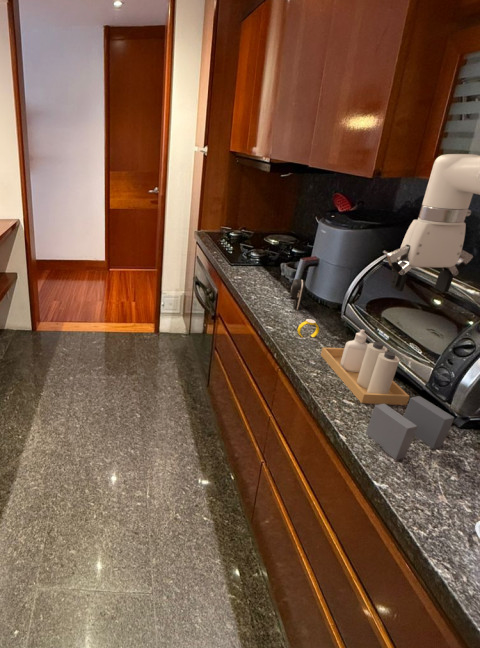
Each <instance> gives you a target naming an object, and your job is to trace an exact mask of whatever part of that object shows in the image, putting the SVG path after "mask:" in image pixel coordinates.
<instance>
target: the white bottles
mask: <svg viewBox="0 0 480 648" xmlns="http://www.w3.org/2000/svg"><path fill="white" fill-rule="evenodd" d="M367 344H368V346H367V349H366V353H365V356H364V359H363V362H362V366H361V369H360V372H359V376H358V379H357V384H358V385H360V386H361V387H363V388H366V389H368V390H367V393H377V394H388V393H389V390H390V387H391V384H392V381H394V378H395V375H396V373H397V369H398V367H399V363H400V358H399V357H398V356H397V355H396V354H395V352H392V351H390V350H389V351H388V348H387V347H386V346H385V344H384V343H382V342H380V341H374V342H369V343H367Z"/></svg>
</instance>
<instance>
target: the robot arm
mask: <svg viewBox="0 0 480 648" xmlns="http://www.w3.org/2000/svg"><path fill="white" fill-rule="evenodd" d="M474 194H475V195H479V196H480V155H479V154H474V153H473V154H471V153H448V154H446V153H445V154H441V155H440V156H438V157H436V159H435V160H434V162H433V165H432V169H431V172H430V176H429V180H428V183H427V186H426V189H425V193H424V197H423V200H422V203H421V206H420V210H419V214H418V217H417V219H413V220H412V222H411V223H410V225H409V226H408V229H407V230H406V233H405V235H404V238H403V240H402V243H401V245H400V248H397V249H395V250H393V251H391V252H388V253H387V254H386V260H387V262H388V266H389V267H390V268H391V271H392V272H393V274H392V279H391V283H390V288H392V289H393V290H396V291H397V292H403V291H404V289H405V285H406V282H407V279H408V275H407V273H408V272H409V271H411V269H412V268H441V269H442V270H440V271H439V273H438V275H437V279H436V281H435V284H434V289H437V290H439V291H442V292H443V293H448V292H449V291H450V288H451V285H452V282H453V279H454V276H457V275H459V272H460V271H462V270H463V269H465V268H466V266H467V265H468V263H470V261H472V259H473V258H474V256H473V254H472V253H470V252H467V251H466V250H464V249H463V247H464V242H465V238H466V237H465V236H466V226H467V225H466V224H467V223H466V222H465V220H466V217H469V216H471V214H472V211H471V209H469V207H470V205H471V203H472V198H473V196H474Z"/></svg>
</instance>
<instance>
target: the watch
mask: <svg viewBox="0 0 480 648" xmlns="http://www.w3.org/2000/svg"><path fill="white" fill-rule="evenodd" d="M307 325H310V326H315V331H314V332H313V333H312V334H310V336H311V337H312V338H316V336H318V334H319V332H320V326H319V325H318V324H317V322H316V320H314V319H311V318H306V319H305V320H304V321H303V322H301V323H300V324H299V325H298V328H297V334H298V335H299V337H301V338H303V337H304V336H303V335H302V332H301V331H302V328H304V327H305V326H307Z"/></svg>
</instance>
